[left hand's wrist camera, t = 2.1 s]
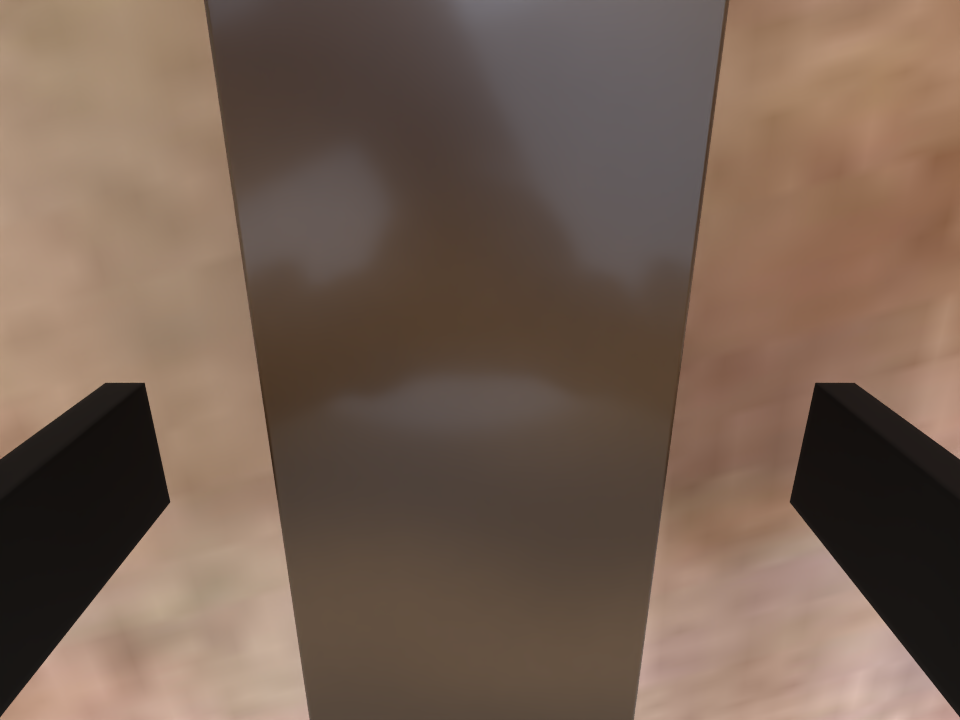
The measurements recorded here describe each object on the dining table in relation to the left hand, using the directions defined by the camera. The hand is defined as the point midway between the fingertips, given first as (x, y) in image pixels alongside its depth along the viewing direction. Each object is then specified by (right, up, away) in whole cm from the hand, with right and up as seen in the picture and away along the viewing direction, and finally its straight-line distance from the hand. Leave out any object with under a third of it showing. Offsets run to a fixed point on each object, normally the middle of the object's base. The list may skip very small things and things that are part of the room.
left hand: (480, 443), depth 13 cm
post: (0, +35, -10) cm, 37 cm away
